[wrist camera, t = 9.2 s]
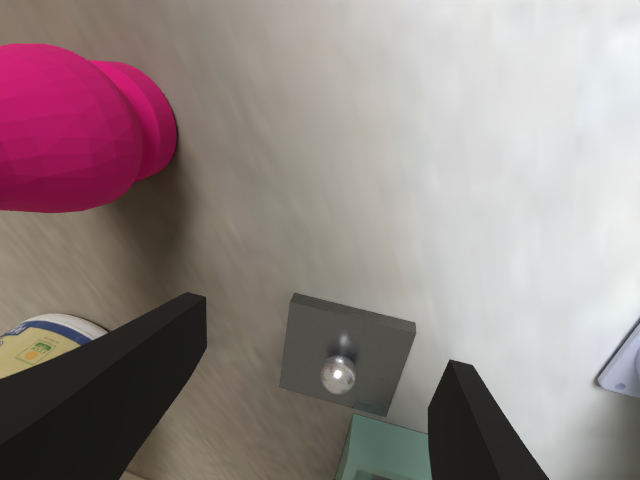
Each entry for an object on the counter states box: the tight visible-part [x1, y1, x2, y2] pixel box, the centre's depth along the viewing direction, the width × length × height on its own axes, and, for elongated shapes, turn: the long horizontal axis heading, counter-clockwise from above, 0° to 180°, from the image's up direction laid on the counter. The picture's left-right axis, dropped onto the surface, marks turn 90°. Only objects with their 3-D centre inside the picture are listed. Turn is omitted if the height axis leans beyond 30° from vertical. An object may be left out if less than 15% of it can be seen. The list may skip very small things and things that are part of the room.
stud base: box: [279, 293, 416, 417], centre depth 22 cm, size 8×8×3 cm
